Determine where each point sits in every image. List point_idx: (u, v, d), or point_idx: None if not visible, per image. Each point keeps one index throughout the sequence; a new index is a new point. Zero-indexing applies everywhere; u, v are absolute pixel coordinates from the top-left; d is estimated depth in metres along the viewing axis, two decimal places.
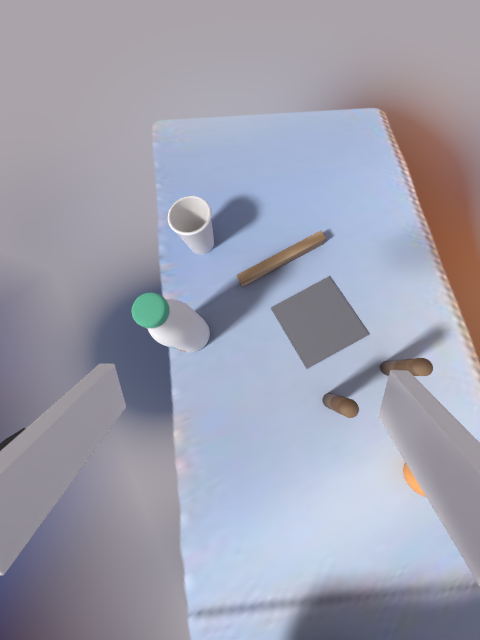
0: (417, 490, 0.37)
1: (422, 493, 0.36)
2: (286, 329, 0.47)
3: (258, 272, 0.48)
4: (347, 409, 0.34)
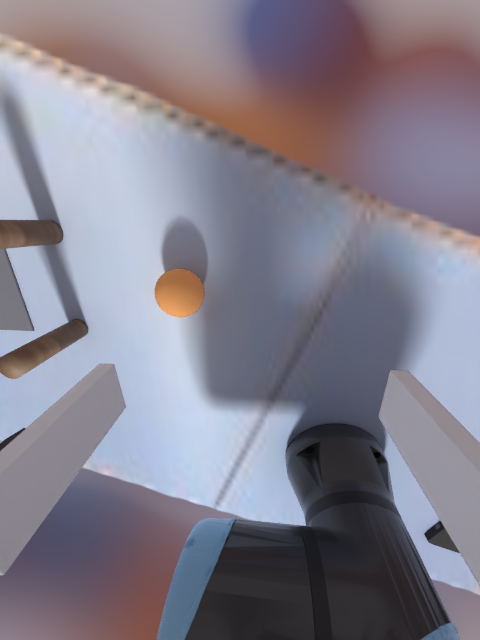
0: (182, 316, 0.27)
1: (186, 315, 0.26)
2: None
3: None
4: (10, 370, 0.24)
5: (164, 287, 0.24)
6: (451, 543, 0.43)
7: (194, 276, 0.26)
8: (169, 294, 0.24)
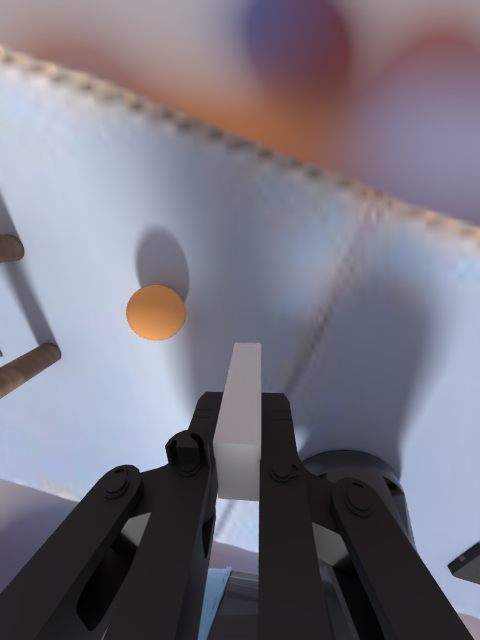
0: None
1: (163, 338, 0.23)
2: None
3: None
4: None
5: (135, 308, 0.21)
6: (478, 577, 0.38)
7: (171, 293, 0.22)
8: (141, 317, 0.21)
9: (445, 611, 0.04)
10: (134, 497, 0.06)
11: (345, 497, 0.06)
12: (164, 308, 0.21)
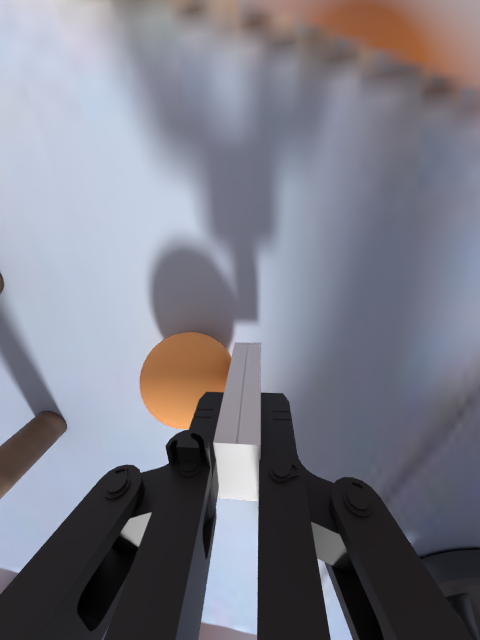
0: None
1: None
2: None
3: None
4: None
5: (143, 375, 0.12)
6: None
7: (207, 357, 0.12)
8: (146, 392, 0.12)
9: (444, 611, 0.04)
10: (135, 497, 0.06)
11: (344, 497, 0.06)
12: (182, 387, 0.11)
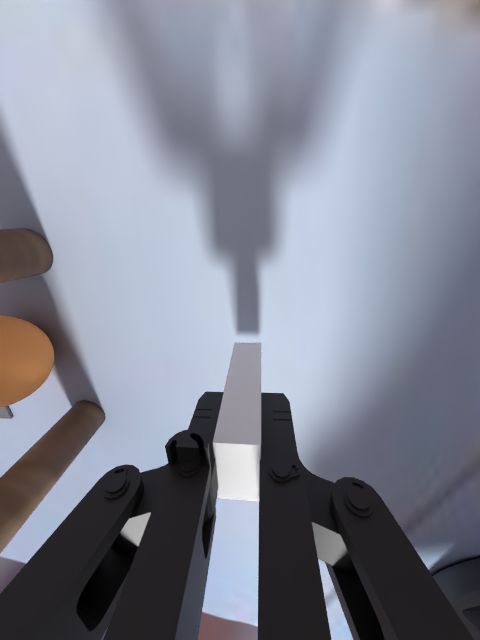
0: None
1: None
2: None
3: None
4: None
5: None
6: None
7: (6, 331, 0.13)
8: None
9: (445, 611, 0.04)
10: (134, 497, 0.06)
11: (345, 497, 0.06)
12: None
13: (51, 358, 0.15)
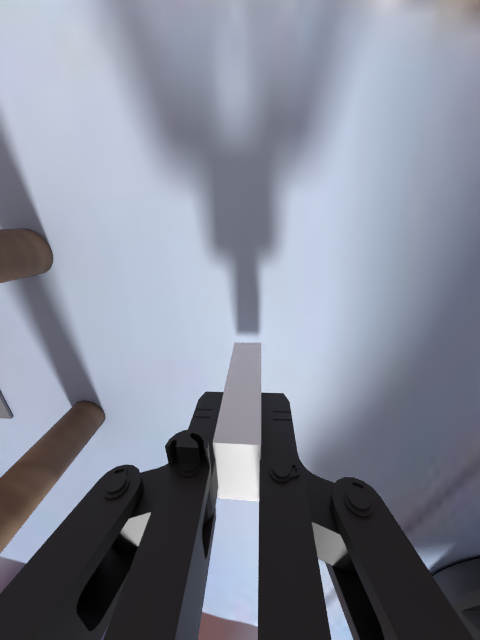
0: None
1: None
2: None
3: None
4: None
5: None
6: None
7: None
8: None
9: (445, 611, 0.04)
10: (134, 497, 0.06)
11: (345, 497, 0.06)
12: None
13: None
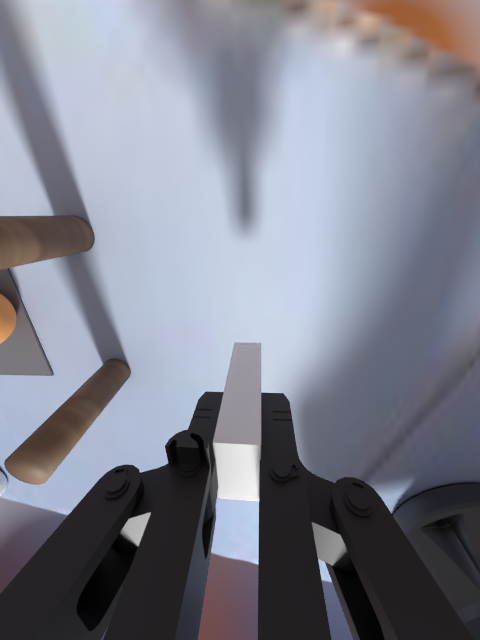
0: None
1: None
2: None
3: None
4: (29, 474, 0.14)
5: None
6: None
7: None
8: None
9: (445, 611, 0.04)
10: (134, 497, 0.06)
11: (345, 497, 0.06)
12: None
13: None
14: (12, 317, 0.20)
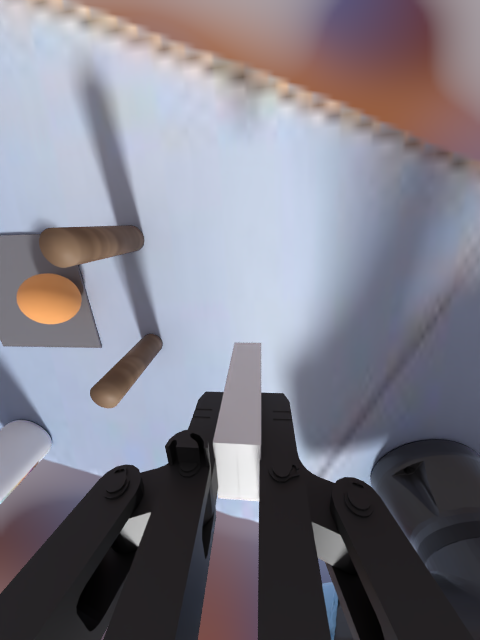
0: None
1: None
2: (39, 343, 0.31)
3: None
4: (105, 399, 0.21)
5: None
6: None
7: (23, 282, 0.24)
8: None
9: (445, 611, 0.04)
10: (134, 497, 0.06)
11: (345, 497, 0.06)
12: None
13: (20, 309, 0.24)
14: (80, 299, 0.27)
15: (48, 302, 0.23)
